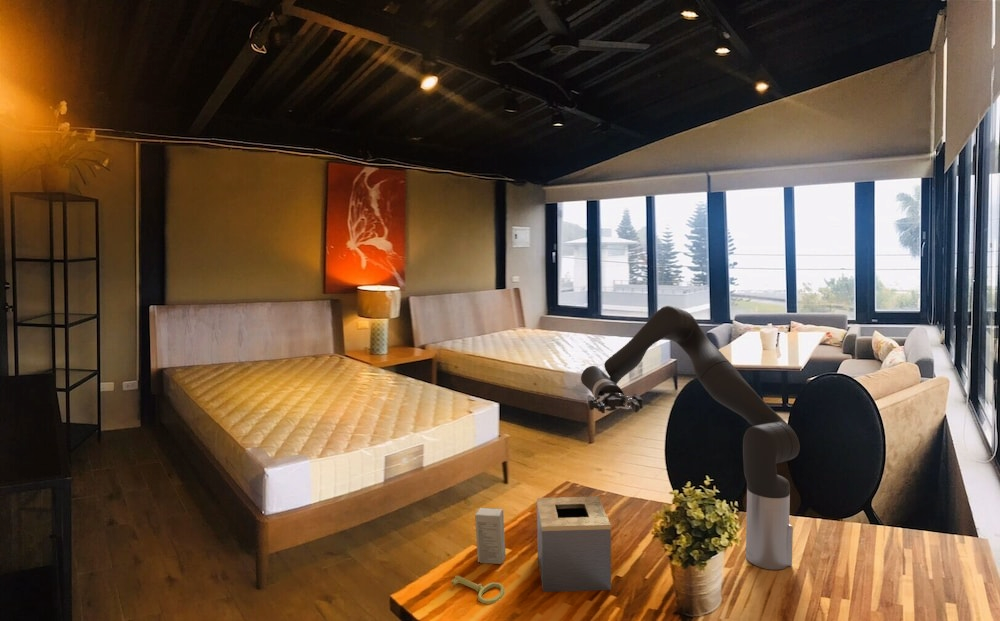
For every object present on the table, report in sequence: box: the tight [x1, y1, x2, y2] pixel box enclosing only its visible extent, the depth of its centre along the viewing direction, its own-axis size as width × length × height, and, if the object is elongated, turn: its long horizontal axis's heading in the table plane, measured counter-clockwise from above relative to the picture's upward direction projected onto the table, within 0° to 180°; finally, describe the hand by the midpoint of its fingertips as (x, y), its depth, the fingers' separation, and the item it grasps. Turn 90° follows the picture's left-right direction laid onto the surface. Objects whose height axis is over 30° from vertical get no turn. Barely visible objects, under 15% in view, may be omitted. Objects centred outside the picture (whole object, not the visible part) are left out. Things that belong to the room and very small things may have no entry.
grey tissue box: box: [536, 495, 612, 593], centre depth 135 cm, size 15×15×15 cm
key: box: [450, 574, 505, 604], centre depth 128 cm, size 7×12×2 cm, turn 76°
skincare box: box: [474, 507, 506, 565], centre depth 142 cm, size 6×4×12 cm
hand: (620, 409), depth 149 cm, fingers open, 8 cm apart
